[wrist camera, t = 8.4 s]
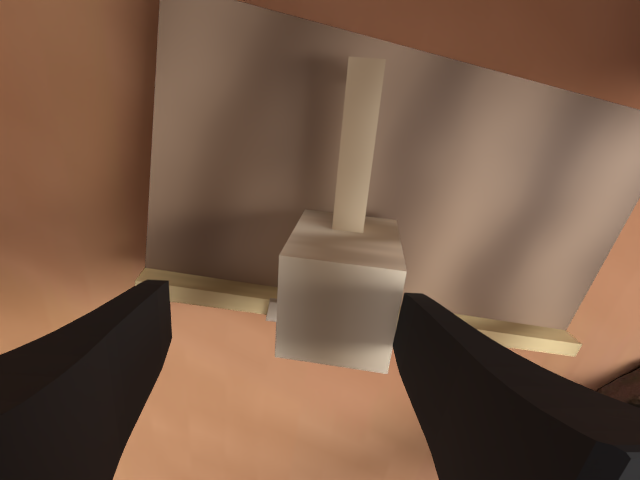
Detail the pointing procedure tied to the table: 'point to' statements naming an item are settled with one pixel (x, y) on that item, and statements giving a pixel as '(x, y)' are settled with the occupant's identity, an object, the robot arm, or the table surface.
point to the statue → (625, 388)
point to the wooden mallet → (344, 254)
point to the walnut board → (380, 170)
